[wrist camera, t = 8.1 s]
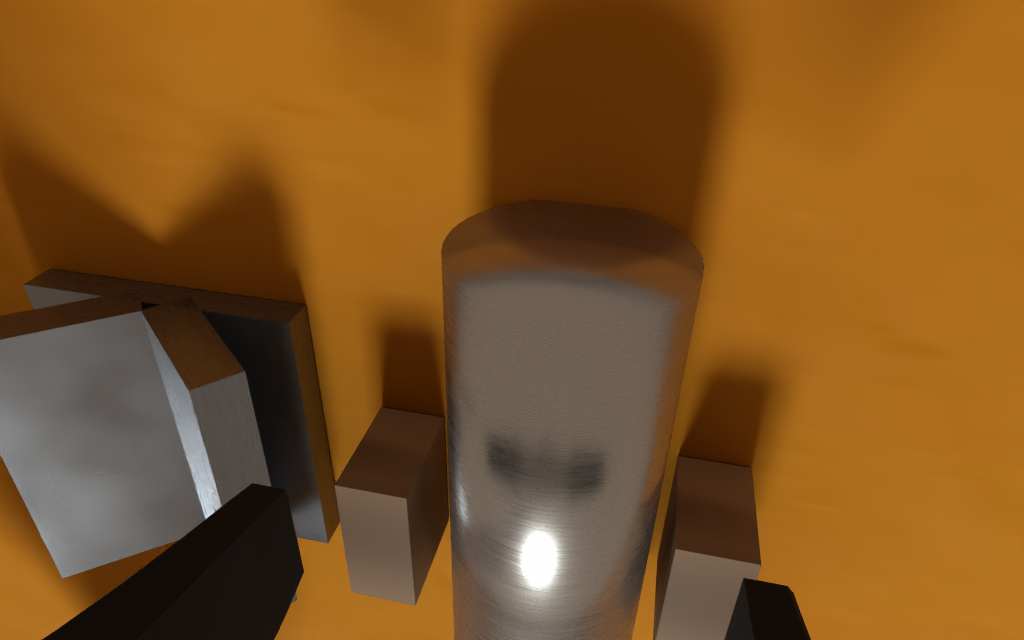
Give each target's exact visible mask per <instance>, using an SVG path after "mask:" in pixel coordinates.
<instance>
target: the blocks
mask: <svg viewBox="0 0 1024 640" xmlns="http://www.w3.org/2000/svg"><path fill="white" fill-rule="evenodd" d="M335 491H336V497H337V504H338V510H339V516H340V522H341V528H342V535H343V541H344V547H345V553H346V560H347V566H348V572H349V578H350V584H351V591H352V592H354V593H358V594H363V595H368V596H372V597H377V598H382V599H386V600H391V601H396V602H400V603H405V604H410V605H414V606H415V605H416V603H417V600H418V598H419V595H420V592H421V590H422V587H423V585H424V582H425V580H426V577H427V574H428V572H429V569H430V567H431V564H432V561H433V559H434V556H435V554H436V551H437V549H438V546H439V543H440V541H441V538H442V536H443V533H444V530H445V528H446V525H447V523H448V520H449V519H448V494H447V469H446V444H445V419H444V417H438V416H432V415H426V414H420V413H414V412H408V411H402V410H396V409H390V408H384V407H381V409H380V410H379V412H378V414H377V415H376V417H375V419H374V420H373V422H372V424H371V425H370V427H369V429H368V430H367V432H366V434H365V435H364V437H363V439H362V440H361V442H360V444H359V445H358V447H357V449H356V450H355V452H354V454H353V455H352V457H351V459H350V460H349V462H348V464H347V465H346V467H345V469H344V470H343V472H342V474H341V475H340V477H339V479H338V480H337V482H336V484H335ZM760 567H761V558H760V548H759V538H758V528H757V518H756V508H755V498H754V488H753V478H752V468H749V467H743V466H737V465H731V464H725V463H719V462H712V461H706V460H700V459H694V458H688V457H682V456H678V460H677V465H676V470H675V475H674V480H673V485H672V489H671V494H670V499H669V504H668V509H667V514H666V519H665V524H664V529H663V534H662V539H661V544H660V549H659V554H658V559H657V576H656V594H655V613H654V631H653V640H724V639H725V636H726V633H727V629H728V626H729V623H730V620H731V616H732V613H733V610H734V607H735V604H736V600H737V597H738V594H739V591H740V587H741V584H742V581H743V578H748V579H753V580H757V576H758V573H759V570H760Z"/></svg>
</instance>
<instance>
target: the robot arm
mask: <svg viewBox="0 0 1024 640" xmlns="http://www.w3.org/2000/svg"><path fill="white" fill-rule="evenodd" d="M303 573H304V569H303V565H302V560H301V556H300V551H299V546H298V542H297V537H296V532H295V528H294V523H293V519H292V514H291V509H290V505H289V500H288V496H287V491H286V489H281V488H276V487H270V486H265V485H260V484H255V483H252V484H250V485H249V486H248V487H246V488H245V489H244V490H243V491H241V492H240V493H239V494H237V495H236V496H235V497H233V498H232V499H231V500H229V501H228V502H227V503H226V504H224V505H223V506H222V507H220V508H219V509H218V510H217V511H215V512H214V513H213V514H212V515H210V516H209V517H208V518H206V519H205V520H204V521H203V522H201V523H200V524H199V525H198V526H196V527H195V528H194V529H192V530H191V531H190V532H189V533H187V534H186V535H185V536H184V537H182V538H181V539H180V540H178V541H177V542H176V543H175V544H173V545H172V546H171V547H169V548H168V549H167V550H166V551H164V552H163V553H162V554H160V555H159V556H158V557H156V558H155V559H154V560H152V561H151V562H150V563H148V564H147V565H146V566H144V567H143V568H142V569H140V570H139V571H138V572H137V573H135V574H134V575H133V576H131V577H130V578H129V579H127V580H126V581H125V582H123V583H122V584H121V585H119V586H118V587H117V588H115V589H114V590H112V591H111V592H110V593H108V594H107V595H105V596H104V597H103V598H101V599H100V600H98V601H97V602H96V603H94V604H93V605H91V606H90V607H88V608H87V609H86V610H84V611H83V612H81V613H80V614H78V615H77V616H76V617H74V618H73V619H71V620H70V621H69V622H67V623H66V624H64V625H63V626H61V627H60V628H59V629H57V630H56V631H54V632H53V633H51V634H50V635H48V636H47V637H45V638H44V639H42V640H274V638H275V637H276V635H277V633H278V631H279V629H280V626H281V624H282V622H283V620H284V617H285V615H286V613H287V611H288V609H289V606H290V604H291V602H292V599H293V597H294V594H295V592H296V590H297V587H298V585H299V582H300V580H301V578H302V575H303ZM724 640H811V638H810V636H809V633H808V631H807V628H806V626H805V623H804V620H803V618H802V615H801V613H800V610H799V607H798V604H797V602H796V599H795V596H794V593H793V592H792V591H791V590H790V588H789V587H788V586H784V585H779V584H774V583H768V582H763V581H758V580H753V579H748V578H743V581H742V584H741V587H740V591H739V594H738V597H737V600H736V604H735V607H734V610H733V613H732V616H731V620H730V623H729V626H728V629H727V633H726V636H725V639H724Z"/></svg>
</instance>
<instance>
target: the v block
mask: <svg viewBox="0 0 1024 640" xmlns="http://www.w3.org/2000/svg"><path fill="white" fill-rule="evenodd" d="M24 287H25V290H26V292H27V295H28V297H29V299H30V302H31V304H32V307H33V309H34V310H29V311H24V312H18V313H13V314H8V315H3V316H0V455H1V457H2V459H3V461H4V463H5V465H6V467H7V469H8V471H9V473H10V475H11V477H12V479H13V481H14V483H15V485H16V487H17V489H18V491H19V493H20V495H21V497H22V499H23V501H24V503H25V505H26V507H27V509H28V511H29V513H30V515H31V517H32V519H33V521H34V523H35V525H36V527H37V529H38V531H39V533H40V535H41V537H42V539H43V541H44V543H45V545H46V547H47V549H48V551H49V553H50V555H51V557H52V559H53V561H54V563H55V565H56V567H57V569H58V571H59V573H60V575H61V577H62V579H63V578H66V577H69V576H72V575H75V574H78V573H81V572H84V571H87V570H90V569H93V568H96V567H99V566H102V565H105V564H108V563H111V562H114V561H117V560H120V559H123V558H126V557H129V556H132V555H135V554H138V553H141V552H144V551H147V550H150V549H153V548H156V547H159V546H162V545H165V544H168V543H171V542H174V541H177V540H180V539H181V538H182V537H184V536H185V535H186V534H187V533H189V532H190V531H191V530H192V529H194V528H195V527H196V526H198V525H199V524H200V523H201V522H203V521H204V520H205V519H206V518H208V517H209V516H210V515H212V514H213V513H214V512H215V511H217V510H218V509H219V508H220V507H222V506H223V505H224V504H226V503H227V502H228V501H229V500H231V499H232V498H233V497H235V496H236V495H237V494H239V493H240V492H241V491H243V490H244V489H245V488H246V487H248V486H249V485H250V484H252V483H255V484H260V485H265V486H270V487H276V488H281V489H286V491H287V496H288V500H289V505H290V509H291V514H292V519H293V523H294V528H295V532H296V537H299V538H304V539H309V540H314V541H319V542H324V543H328V542H329V541H330V539H331V537H332V535H333V533H334V532H335V530H336V528H337V526H338V525H339V523H340V516H339V510H338V504H337V497H336V491H335V484H334V478H333V472H332V466H331V459H330V453H329V447H328V441H327V434H326V428H325V422H324V416H323V410H322V403H321V397H320V391H319V385H318V378H317V372H316V366H315V360H314V353H313V347H312V341H311V335H310V329H309V322H308V316H307V310H306V305H303V304H296V303H289V302H281V301H274V300H267V299H260V298H253V297H246V296H239V295H231V294H224V293H217V292H210V291H203V290H196V289H189V288H181V287H174V286H167V285H160V284H153V283H146V282H139V281H131V280H124V279H117V278H110V277H103V276H96V275H89V274H81V273H74V272H67V271H60V270H53V269H49V270H47V271H46V272H44V273H42V274H41V275H39V276H37V277H35V278H34V279H32V280H30V281H29V282H27V283H25V284H24ZM296 600H297V596H296V592H295V594H294V597H293V599H292V602H294V601H296ZM292 602H291V603H292Z"/></svg>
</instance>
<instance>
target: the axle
mask: <svg viewBox="0 0 1024 640" xmlns="http://www.w3.org/2000/svg"><path fill="white" fill-rule="evenodd" d="M441 255H442V285H443V314H444V344H445V374H446V404H447V434H448V464H449V494H450V524H451V554H452V584H453V614H454V640H632V635H633V630H634V625H635V620H636V615H637V610H638V604H639V599H640V594H641V589H642V584H643V579H644V574H645V569H646V564H647V558H648V553H649V548H650V543H651V538H652V533H653V528H654V523H655V518H656V512H657V507H658V502H659V497H660V492H661V487H662V482H663V477H664V471H665V466H666V461H667V456H668V451H669V446H670V441H671V436H672V431H673V425H674V420H675V415H676V410H677V405H678V400H679V395H680V390H681V385H682V379H683V374H684V369H685V364H686V359H687V354H688V349H689V344H690V338H691V333H692V328H693V323H694V318H695V313H696V308H697V303H698V298H699V292H700V287H701V282H702V277H703V270H704V264H703V258H702V256H701V254H700V252H699V250H698V249H697V247H696V246H695V245H694V243H693V242H692V241H691V240H690V239H689V238H687V237H686V236H685V235H684V234H682V233H681V232H680V231H678V230H677V229H675V228H674V227H672V226H670V225H668V224H667V223H664V222H662V221H660V220H658V219H656V218H653V217H651V216H648V215H646V214H643V213H640V212H636V211H633V210H630V209H625V208H616V207H607V206H597V205H588V204H579V203H570V202H561V201H551V200H540V201H528V202H520V203H514V204H509V205H503V206H500V207H496V208H492V209H489V210H486V211H483V212H480V213H478V214H476V215H474V216H471V217H469V218H468V219H466V220H464V221H463V222H461V223H459V224H458V225H457V226H456V227H455V228H453V229H452V230H451V232H450V233H449V234H448V235H447V236H446V238H445V240H444V242H443V245H442V250H441Z"/></svg>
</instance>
